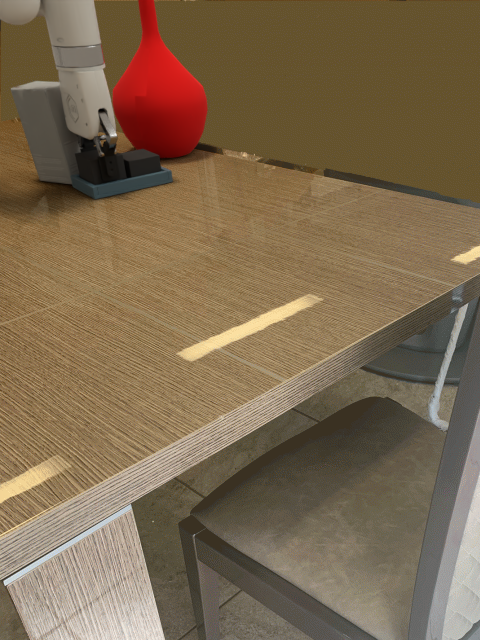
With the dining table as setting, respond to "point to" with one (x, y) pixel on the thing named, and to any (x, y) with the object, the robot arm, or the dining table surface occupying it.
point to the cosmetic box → (47, 130)
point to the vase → (159, 96)
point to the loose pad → (95, 167)
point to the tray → (121, 184)
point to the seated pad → (141, 163)
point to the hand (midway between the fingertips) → (102, 174)
